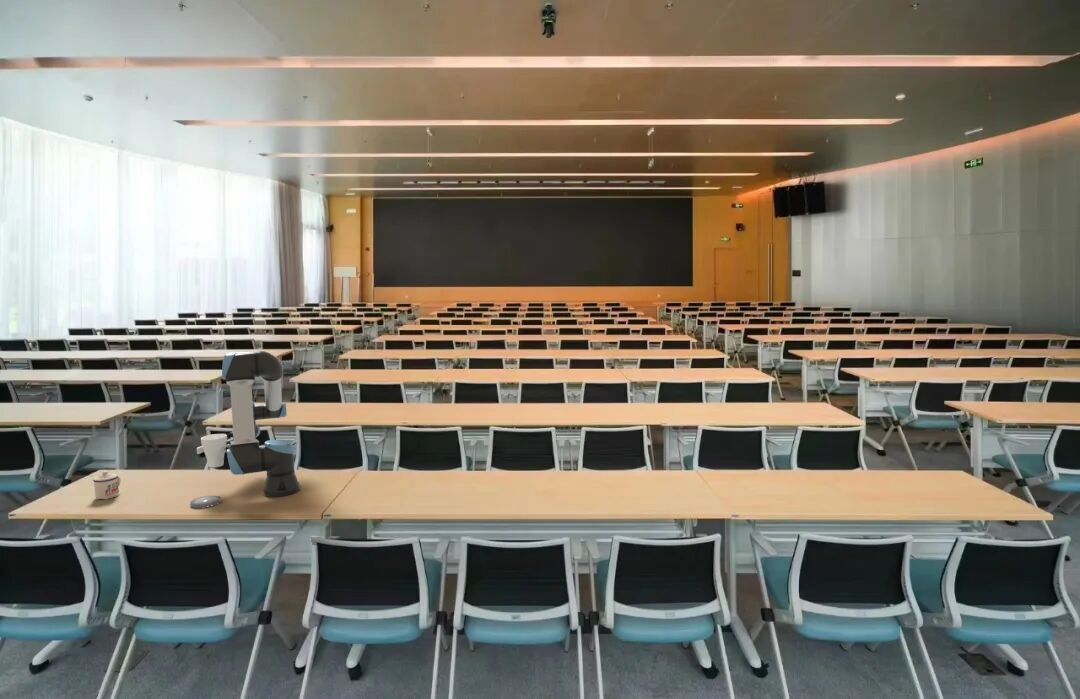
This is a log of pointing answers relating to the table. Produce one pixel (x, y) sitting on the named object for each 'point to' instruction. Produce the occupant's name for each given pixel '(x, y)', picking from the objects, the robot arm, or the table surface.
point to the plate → (205, 501)
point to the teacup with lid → (106, 485)
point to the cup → (214, 449)
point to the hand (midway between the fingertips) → (209, 451)
